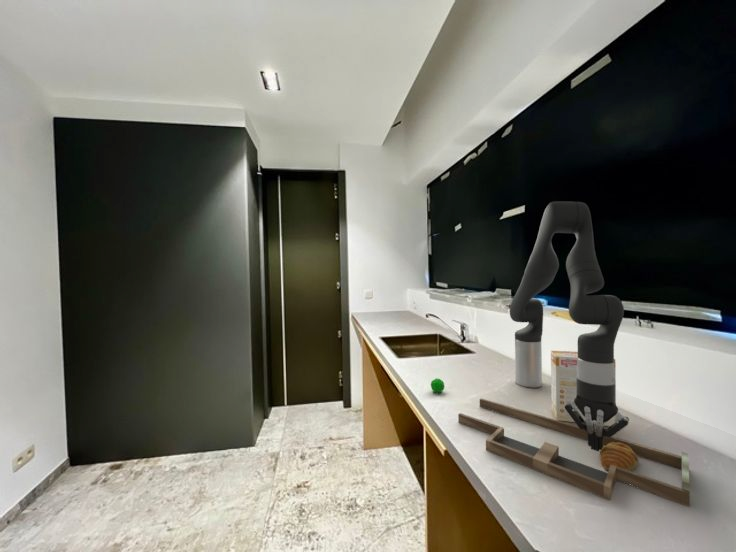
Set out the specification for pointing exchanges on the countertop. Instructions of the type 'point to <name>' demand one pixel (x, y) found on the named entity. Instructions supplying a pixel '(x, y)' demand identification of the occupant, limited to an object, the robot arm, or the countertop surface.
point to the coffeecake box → (566, 384)
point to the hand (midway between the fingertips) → (595, 449)
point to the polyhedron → (437, 385)
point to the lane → (546, 465)
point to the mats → (557, 460)
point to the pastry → (618, 456)
